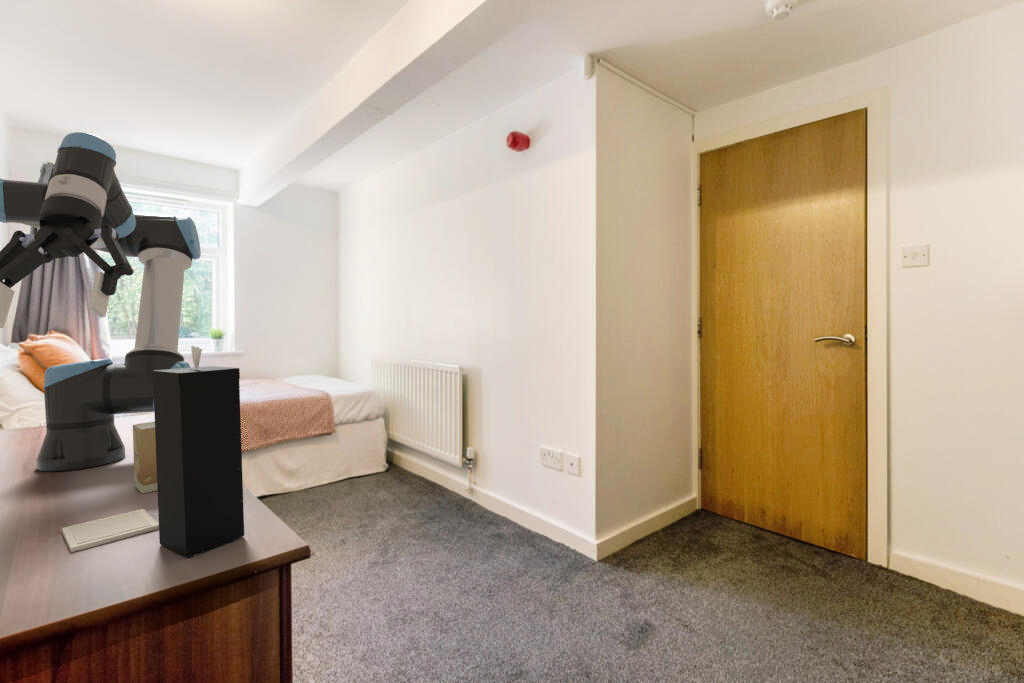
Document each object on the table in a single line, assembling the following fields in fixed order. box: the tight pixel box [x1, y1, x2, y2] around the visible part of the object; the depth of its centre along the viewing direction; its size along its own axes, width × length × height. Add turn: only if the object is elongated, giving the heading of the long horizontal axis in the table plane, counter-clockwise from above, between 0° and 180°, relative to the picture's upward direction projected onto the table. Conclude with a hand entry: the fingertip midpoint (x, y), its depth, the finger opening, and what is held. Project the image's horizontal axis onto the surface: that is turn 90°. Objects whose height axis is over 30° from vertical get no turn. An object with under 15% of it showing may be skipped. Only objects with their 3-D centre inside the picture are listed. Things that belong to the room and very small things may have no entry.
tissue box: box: [152, 345, 245, 559], centre depth 69 cm, size 8×8×28 cm
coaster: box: [61, 508, 159, 553], centre depth 73 cm, size 10×10×1 cm
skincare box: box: [132, 421, 158, 494], centre depth 93 cm, size 6×4×12 cm
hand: (45, 318), depth 72 cm, fingers open, 13 cm apart
